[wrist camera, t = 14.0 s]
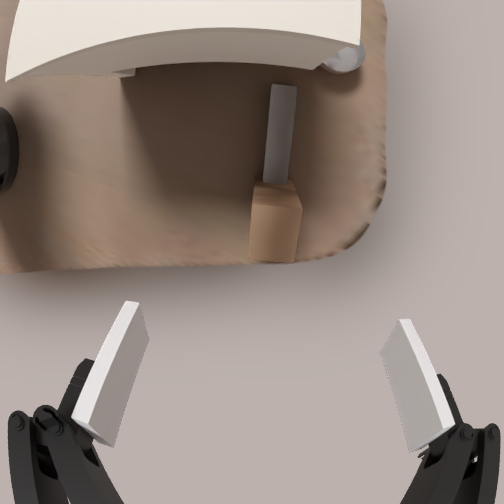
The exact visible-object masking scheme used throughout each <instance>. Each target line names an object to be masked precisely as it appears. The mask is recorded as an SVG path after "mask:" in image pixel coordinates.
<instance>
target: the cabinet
mask: <svg viewBox="0 0 504 504" xmlns="http://www.w3.org/2000/svg"><path fill="white" fill-rule="evenodd" d="M360 25H361V0H20V2H19V5H18V9H17V13H16V17H15V21H14V25H13V30H12V35H11V40H10V46H9V52H8V59H7V68H6V79H5V82H9V81H14V80H16V79H18V78H20V77H26V76H43V75H87V76H105V77H117V78H122V77H128V76H135V71H136V68H138V67H145V66H153V65H163V64H174V63H191V62H242V63H259V64H271V65H280V66H289V67H296V68H303V69H309V70H313V69H315V68H316V67H317V66H319V65H320V64H322V63H323V62H324V61H326V60H327V59H329V58H330V57H332V56H333V55H335V54H336V53H337V52H339V51H340V50H342V49H343V48H345V47H350V48H353V49H354V48H356V47H358V46H359V44H360Z"/></svg>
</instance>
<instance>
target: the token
mask: <svg viewBox="0 0 504 504" xmlns="http://www.w3.org/2000/svg"><path fill="white" fill-rule="evenodd" d="M364 58H365V48H364V45H363V43H362V41H361V40H360V44H359V46H358V47H356V48H354V49H353V48H350V47H345V48H343V49H342V50H340V51H339V52H337V53H336V54H335V55H333V56H332V57H330V58H329V59H327V60H326V61H324V62H323V63H322V64H320V65H319V66H320V67H321V68H322V69H324V70H325V71H327V72H330V73H333V74H345V73H348V72H350V71H352V70H354V69H356V68H358V67H359V66H360V65H361V64H362V63H363V61H364Z"/></svg>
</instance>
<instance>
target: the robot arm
mask: <svg viewBox="0 0 504 504" xmlns="http://www.w3.org/2000/svg"><path fill="white" fill-rule="evenodd" d="M17 164H18V140H17V134H16V129H15V126H14V123H13V120H12V118H11V116H10V114H9V113H8V112H7V111H6V110H5V109H4V108H2V107H0V194H1V193H3V192H4V191H6V190H7V189H8V188H9V187H10V186H11V184H12V182H13V180H14V178H15V174H16V170H17ZM148 342H149V337H148V334H147V330H146V326H145V323H144V319H143V315H142V311H141V306H140V303H137V302H131V301H126V302H125V303H124V305H123V307H122V309H121V311H120V313H119V315H118V316H117V318H116V320H115V322H114V324H113V326H112V328H111V330H110V332H109V334H108V336H107V338H106V340H105V342H104V344H103V346H102V348H101V350H100V352H99V354H98V356H97V358H96V360H95V361H93V360H89V359H86V358H85V359H84V361H82V362H81V363H80V364H79V365H78V367H77V369H76V371H75V373H74V375H73V377H72V379H71V381H70V384H69V385H68V388H67V390H66V392H65V394H64V397H63V399H62V401H61V404H60V406H59V408H58V410H56V409H55V408H53V407H52V406H49V405H42V406H40V407H38V408H37V409H36V411H35V412H34V415H33V417H28V416H27V415H26V414H25V413H24V412H22V411H15V412H13V413H12V414H11V415H10V417H9V420H8V450H9V465H10V475H11V483H12V488H13V495H14V500H15V504H69V502H68V499H69V501H70V503H71V504H124V503H123V501H122V500H121V498H120V496H119V495H118V493H117V491H116V489H115V488H114V486H113V484H112V482H111V480H110V479H109V477H108V475H107V473H106V471H105V469H104V467H103V465H102V463H101V461H100V459H99V457H98V455H97V452H96V450H95V448H94V446H93V444H92V442H93V439H95V440H96V441H97V442H99V443H101V444H104V445H107V446H110V447H114V445H115V441H116V438H117V434H118V431H119V427H120V424H121V421H122V417H123V414H124V411H125V408H126V405H127V401H128V398H129V395H130V392H131V389H132V386H133V383H134V381H135V378H136V375H137V372H138V369H139V366H140V363H141V361H142V358H143V355H144V352H145V350H146V347H147V344H148ZM380 355H381V358H382V361H383V363H384V367H385V369H386V372H387V376H388V379H389V382H390V385H391V388H392V391H393V394H394V398H395V400H396V404H397V408H398V411H399V415H400V418H401V422H402V426H403V429H404V433H405V437H406V441H407V445H408V450H409V452H413V451H416V450H419V449H422V448H423V447H425V446H426V445H428V444H429V448H428V449H426V450H425V451H423V452H422V453H420V454H419V456H418V458H420V457H421V456H423V455H424V457H422V459H423V460H422V462H421V464H420V466H419V468H418V471H417V473H416V475H415V477H414V479H413V481H412V483H411V485H410V487H409V489H408V490H407V492H406V494H405V496H404V498H403V500H402V501H401V503H400V504H494V503H495V497H496V491H497V483H498V475H499V462H500V430H499V428H498V426H497V425H496V424H493V423H492V424H489V425H488V426H486V427H485V428H484V429H473V428H472V426H470V425H469V424H466V423H463V421H462V418H461V416H460V413H459V411H458V408H457V405H456V403H455V401H454V398H453V395H452V392H451V391H450V387H449V385H448V383H447V381H446V379H445V378H444V377H443V376H442V375H441V374H438V375H436V373H435V371H434V368H433V366H432V364H431V362H430V359H429V357H428V355H427V353H426V351H425V349H424V346H423V344H422V342H421V340H420V338H419V336H418V334H417V332H416V330H415V328H414V326H413V324H412V322H411V320H410V319H399V320H398V322H397V323H396V325H395V327H394V329H393V331H392V332H391V334H390V336H389V338H388V340H387V341H386V343H385V345H384V346H383V348H382V349H381V351H380ZM477 456H478V457H477ZM476 457H477V462H474V458H476ZM67 497H68V498H67Z"/></svg>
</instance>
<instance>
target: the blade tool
mask: <svg viewBox="0 0 504 504" xmlns="http://www.w3.org/2000/svg"><path fill="white" fill-rule="evenodd" d="M297 89H298V87H296V86H289V85H280V84H272V85H271V94H270V105H269V116H268V127H267V138H266V148H265V159H264V170H263V176H255V184H254V192H253V200H252V210H251V223H250V235H249V247H248V259H249V260H261V261H272V262H284V263H294V259H295V254H296V248H297V243H298V237H299V231H300V226H301V220H302V214H303V208H302V205H301V202H300V199H299V196H298V194H297V191H296V188H295V185H294V183H293V180H292V179H287V178H288V170H289V162H290V153H291V145H292V136H293V127H294V118H295V108H296V99H297Z"/></svg>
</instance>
